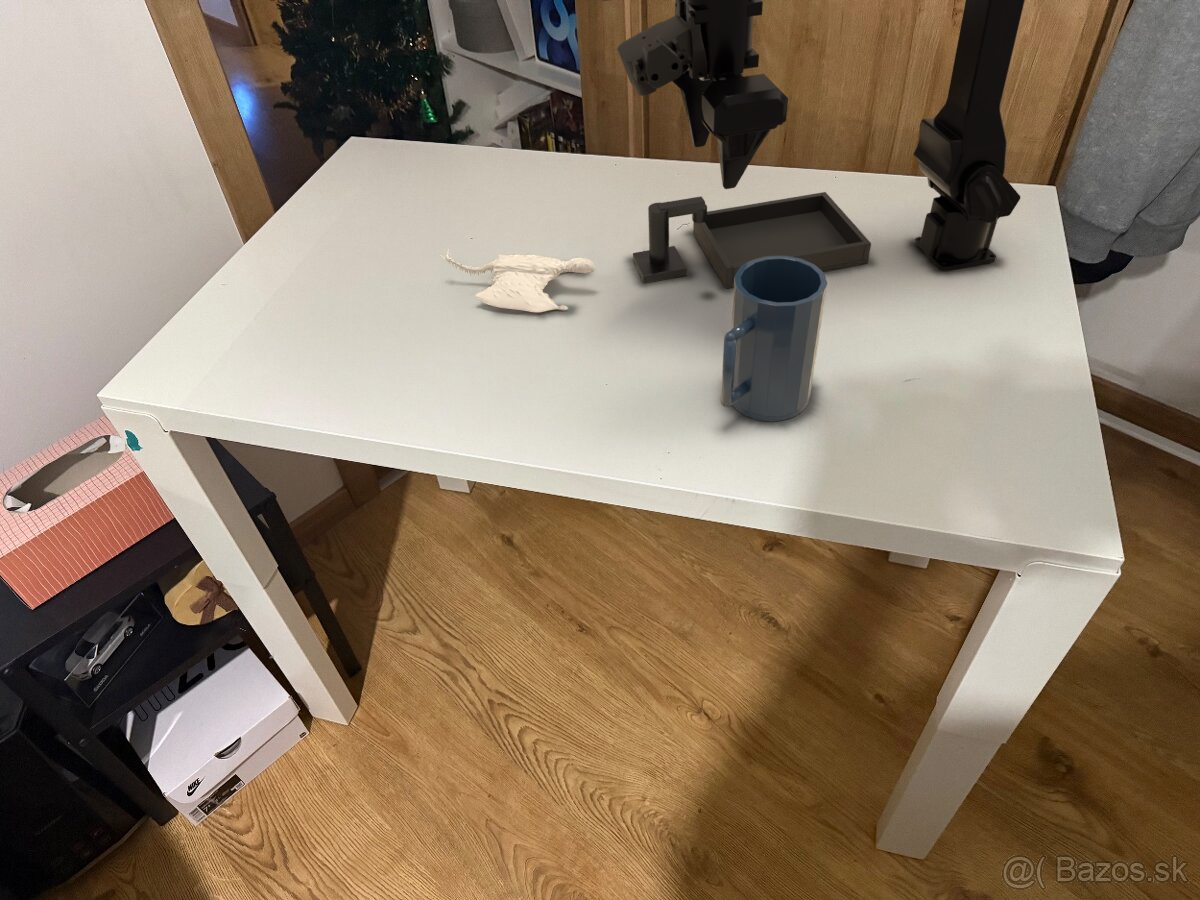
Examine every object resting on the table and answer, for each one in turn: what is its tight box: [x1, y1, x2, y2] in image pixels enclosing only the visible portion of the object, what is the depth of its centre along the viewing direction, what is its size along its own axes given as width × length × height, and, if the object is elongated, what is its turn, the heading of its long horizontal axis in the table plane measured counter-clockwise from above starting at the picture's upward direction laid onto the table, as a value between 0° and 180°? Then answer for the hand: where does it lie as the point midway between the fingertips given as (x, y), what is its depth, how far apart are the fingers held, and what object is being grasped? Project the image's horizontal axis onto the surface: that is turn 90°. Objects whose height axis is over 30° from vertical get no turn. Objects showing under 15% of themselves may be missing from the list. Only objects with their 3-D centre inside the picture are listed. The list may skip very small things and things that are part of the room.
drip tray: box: [692, 191, 872, 289], centre depth 93 cm, size 16×12×2 cm
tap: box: [632, 196, 708, 284], centre depth 90 cm, size 8×5×8 cm, turn 102°
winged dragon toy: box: [439, 248, 596, 313], centre depth 90 cm, size 18×10×4 cm, turn 78°
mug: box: [720, 256, 828, 422], centre depth 71 cm, size 10×7×12 cm
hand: (713, 166), depth 78 cm, fingers open, 9 cm apart
